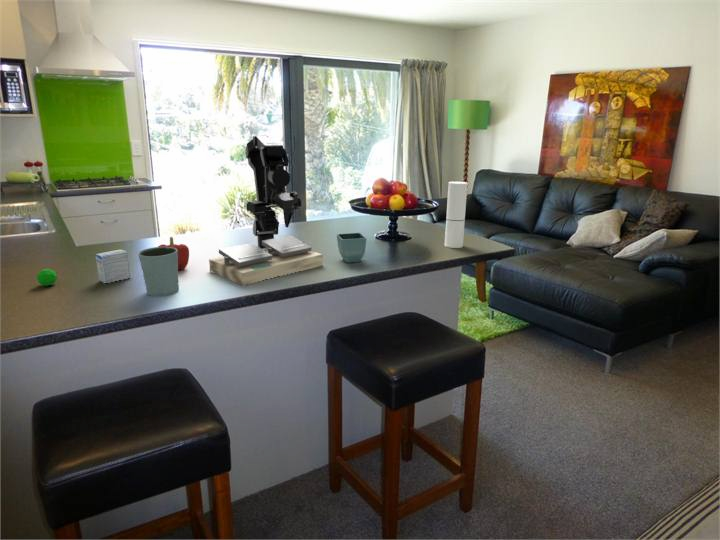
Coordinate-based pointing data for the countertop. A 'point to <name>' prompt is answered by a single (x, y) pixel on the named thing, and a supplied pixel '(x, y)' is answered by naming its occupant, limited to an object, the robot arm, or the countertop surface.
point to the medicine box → (113, 266)
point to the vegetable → (180, 253)
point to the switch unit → (265, 266)
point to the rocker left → (245, 254)
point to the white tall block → (455, 214)
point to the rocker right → (286, 246)
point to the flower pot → (351, 246)
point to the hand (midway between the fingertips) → (275, 229)
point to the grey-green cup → (160, 270)
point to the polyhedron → (47, 277)
